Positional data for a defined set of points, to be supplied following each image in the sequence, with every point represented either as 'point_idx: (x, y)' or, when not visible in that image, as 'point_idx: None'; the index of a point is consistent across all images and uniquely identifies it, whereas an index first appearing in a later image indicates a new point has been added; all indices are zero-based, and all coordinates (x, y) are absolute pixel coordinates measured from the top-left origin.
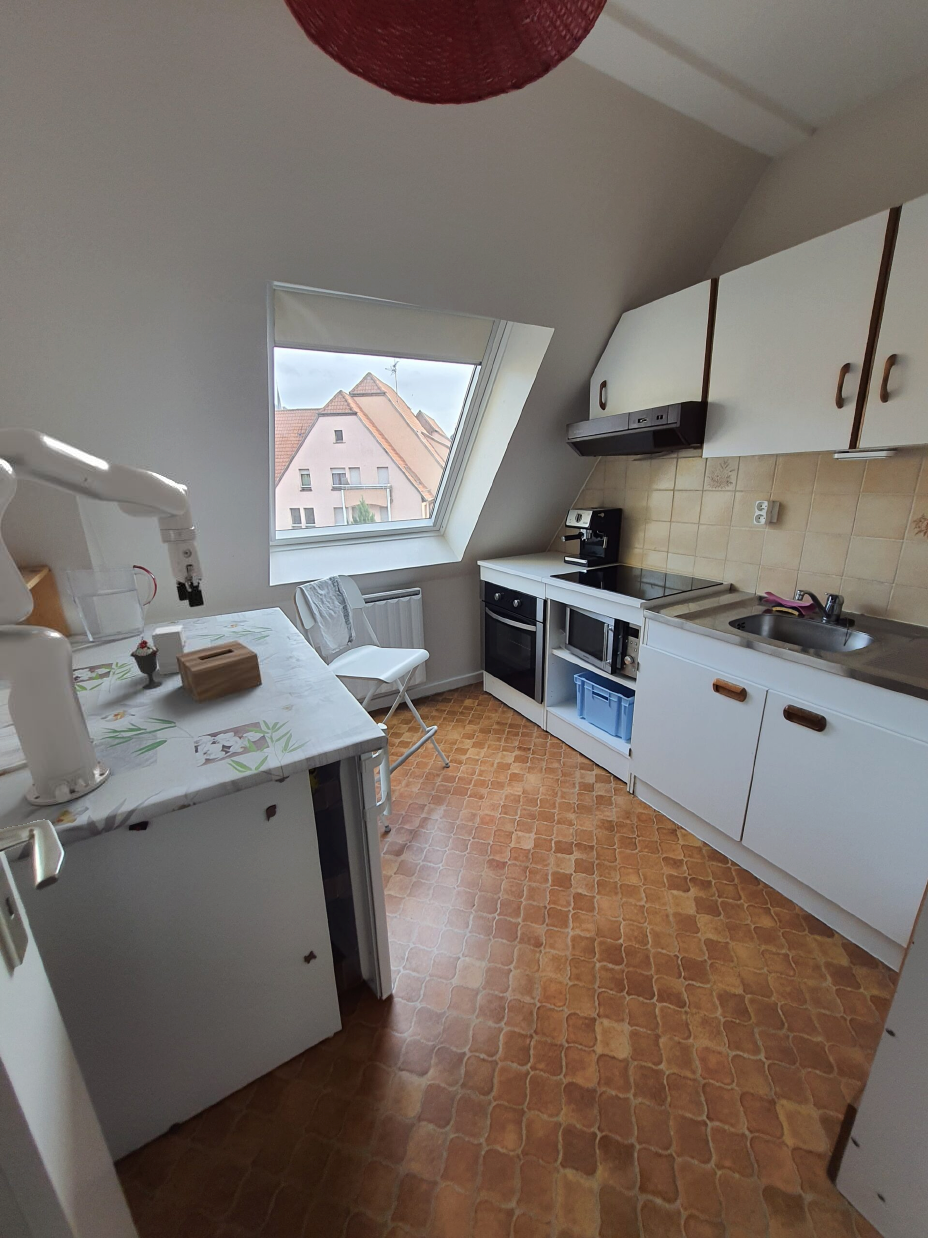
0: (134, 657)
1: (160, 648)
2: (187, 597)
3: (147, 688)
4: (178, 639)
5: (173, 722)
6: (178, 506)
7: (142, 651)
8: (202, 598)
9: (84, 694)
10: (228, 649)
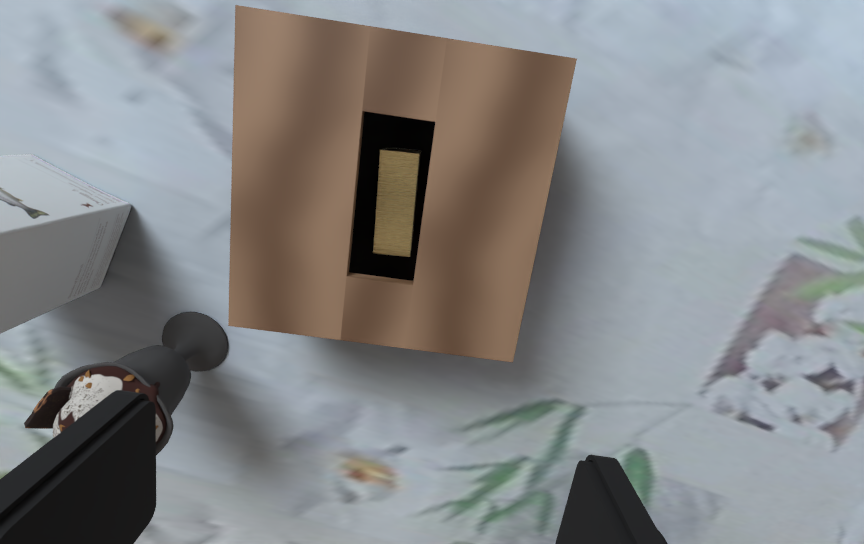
0: None
1: (14, 310)
2: (140, 463)
3: (217, 364)
4: (7, 243)
5: (552, 402)
6: None
7: None
8: (646, 516)
9: None
10: (361, 121)
